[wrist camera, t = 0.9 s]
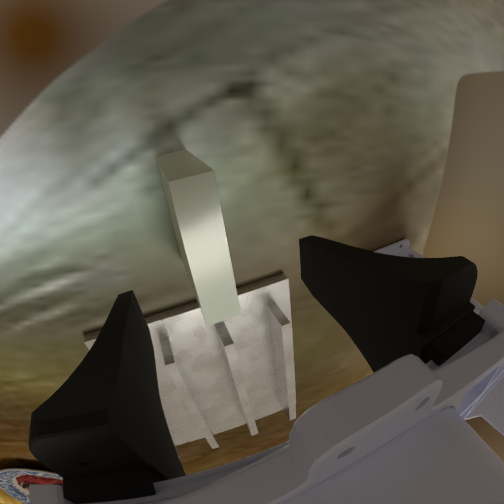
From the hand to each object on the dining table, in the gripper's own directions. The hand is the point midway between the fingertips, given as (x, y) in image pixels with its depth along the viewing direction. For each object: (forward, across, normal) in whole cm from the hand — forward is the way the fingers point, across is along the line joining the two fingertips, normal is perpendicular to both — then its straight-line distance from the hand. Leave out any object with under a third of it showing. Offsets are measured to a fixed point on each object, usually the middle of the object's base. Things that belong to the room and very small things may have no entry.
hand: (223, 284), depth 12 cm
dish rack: (+10, +2, +18) cm, 21 cm away
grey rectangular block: (+10, 0, 0) cm, 10 cm away
